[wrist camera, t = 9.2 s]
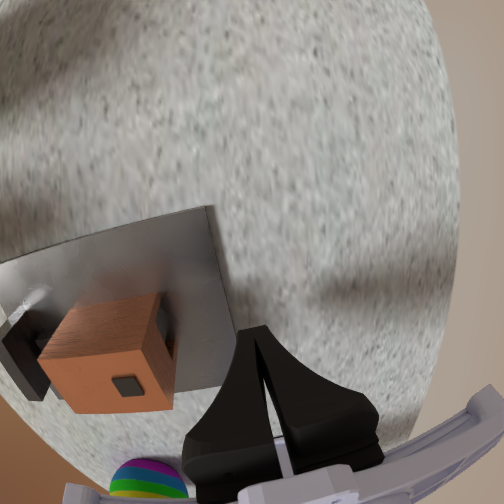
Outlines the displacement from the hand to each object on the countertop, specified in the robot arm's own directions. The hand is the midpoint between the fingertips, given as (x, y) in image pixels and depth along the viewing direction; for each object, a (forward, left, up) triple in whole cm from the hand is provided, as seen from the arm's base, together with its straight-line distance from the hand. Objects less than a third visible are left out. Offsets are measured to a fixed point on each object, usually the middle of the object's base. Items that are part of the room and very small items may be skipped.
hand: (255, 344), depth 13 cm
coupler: (0, +9, -4) cm, 10 cm away
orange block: (0, +8, -4) cm, 8 cm away
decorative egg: (-19, +14, -4) cm, 24 cm away
